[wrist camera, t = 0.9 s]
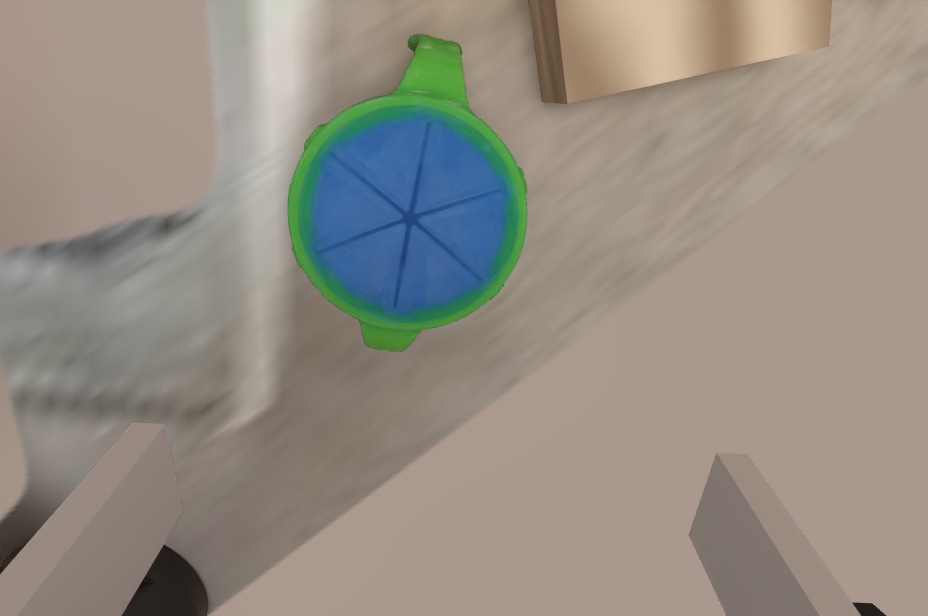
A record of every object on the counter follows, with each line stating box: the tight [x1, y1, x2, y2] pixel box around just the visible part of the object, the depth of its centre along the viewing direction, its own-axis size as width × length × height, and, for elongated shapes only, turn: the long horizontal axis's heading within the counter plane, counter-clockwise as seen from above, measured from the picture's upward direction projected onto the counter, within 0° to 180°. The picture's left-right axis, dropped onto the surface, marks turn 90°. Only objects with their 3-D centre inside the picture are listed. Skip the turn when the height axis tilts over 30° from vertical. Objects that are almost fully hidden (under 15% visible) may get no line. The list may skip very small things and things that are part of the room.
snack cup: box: [288, 34, 527, 352], centre depth 29 cm, size 16×10×10 cm
